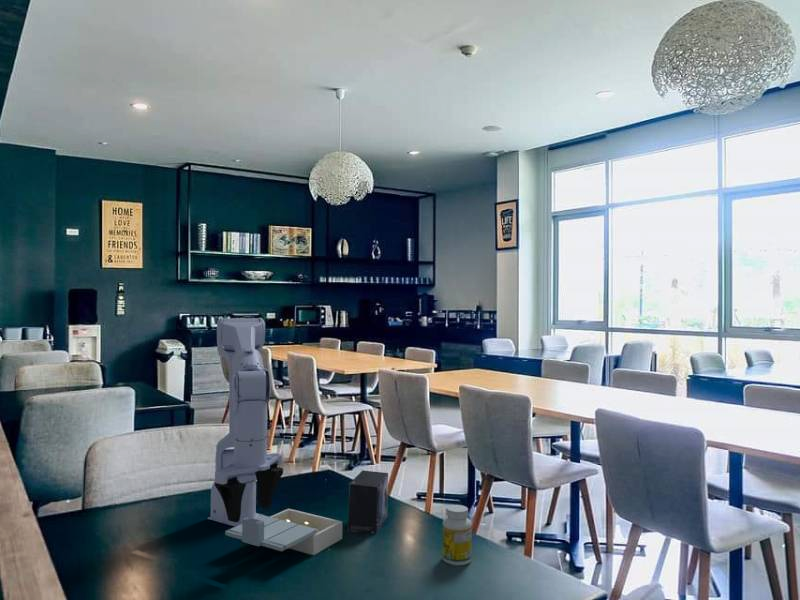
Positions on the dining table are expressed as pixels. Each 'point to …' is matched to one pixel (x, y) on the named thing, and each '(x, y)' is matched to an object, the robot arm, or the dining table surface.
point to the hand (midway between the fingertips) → (249, 514)
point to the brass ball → (304, 523)
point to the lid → (270, 532)
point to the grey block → (326, 526)
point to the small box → (368, 502)
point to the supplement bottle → (457, 536)
